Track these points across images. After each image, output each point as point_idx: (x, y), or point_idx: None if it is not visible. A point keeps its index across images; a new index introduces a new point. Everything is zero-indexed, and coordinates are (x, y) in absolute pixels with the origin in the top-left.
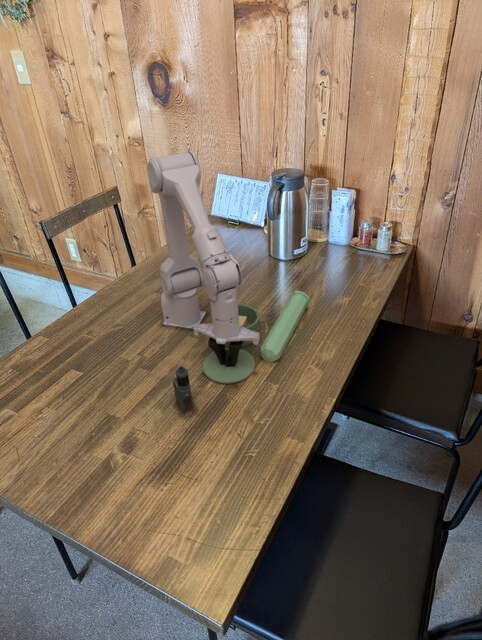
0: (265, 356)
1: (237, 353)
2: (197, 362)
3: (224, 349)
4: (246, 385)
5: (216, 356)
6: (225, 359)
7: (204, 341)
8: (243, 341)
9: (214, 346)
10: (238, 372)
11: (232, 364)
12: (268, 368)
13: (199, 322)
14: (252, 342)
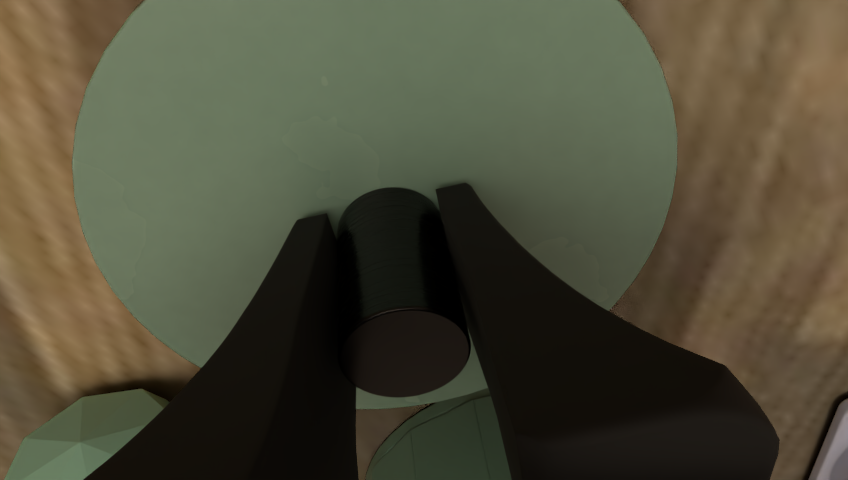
0: (109, 438)
1: (164, 416)
2: (735, 124)
3: (483, 370)
4: (44, 64)
5: (567, 258)
6: (403, 255)
7: (741, 344)
8: (417, 470)
9: (586, 407)
10: (205, 172)
11: (308, 232)
12: (68, 339)
13: (830, 453)
14: (371, 472)
